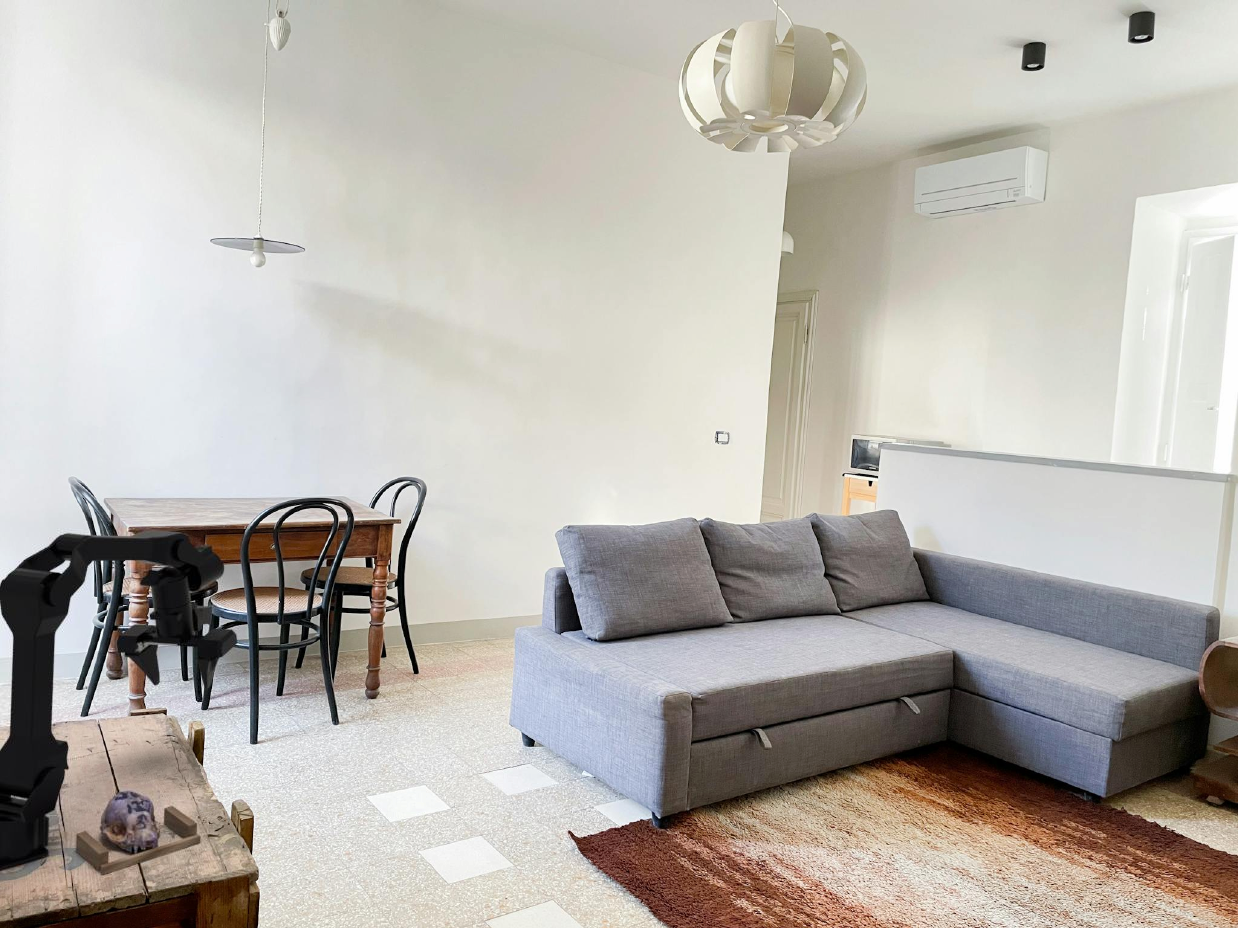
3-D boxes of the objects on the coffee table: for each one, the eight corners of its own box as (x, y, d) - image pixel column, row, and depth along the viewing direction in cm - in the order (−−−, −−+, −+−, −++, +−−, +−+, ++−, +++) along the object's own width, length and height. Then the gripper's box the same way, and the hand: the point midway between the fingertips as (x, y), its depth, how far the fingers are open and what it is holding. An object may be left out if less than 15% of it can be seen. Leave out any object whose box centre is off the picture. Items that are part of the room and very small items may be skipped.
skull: (170, 852, 131) (172, 810, 131) (110, 866, 127) (111, 823, 126) (151, 820, 141) (153, 781, 140) (95, 832, 136) (96, 791, 135)
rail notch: (102, 874, 124) (102, 856, 124) (75, 850, 130) (76, 833, 130) (200, 842, 134) (201, 825, 134) (171, 821, 140) (172, 805, 140)
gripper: (248, 586, 161) (256, 666, 165) (147, 581, 163) (157, 661, 167) (215, 612, 151) (225, 697, 155) (108, 606, 152) (120, 691, 156)
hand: (182, 685), depth 158 cm, fingers open, 9 cm apart
